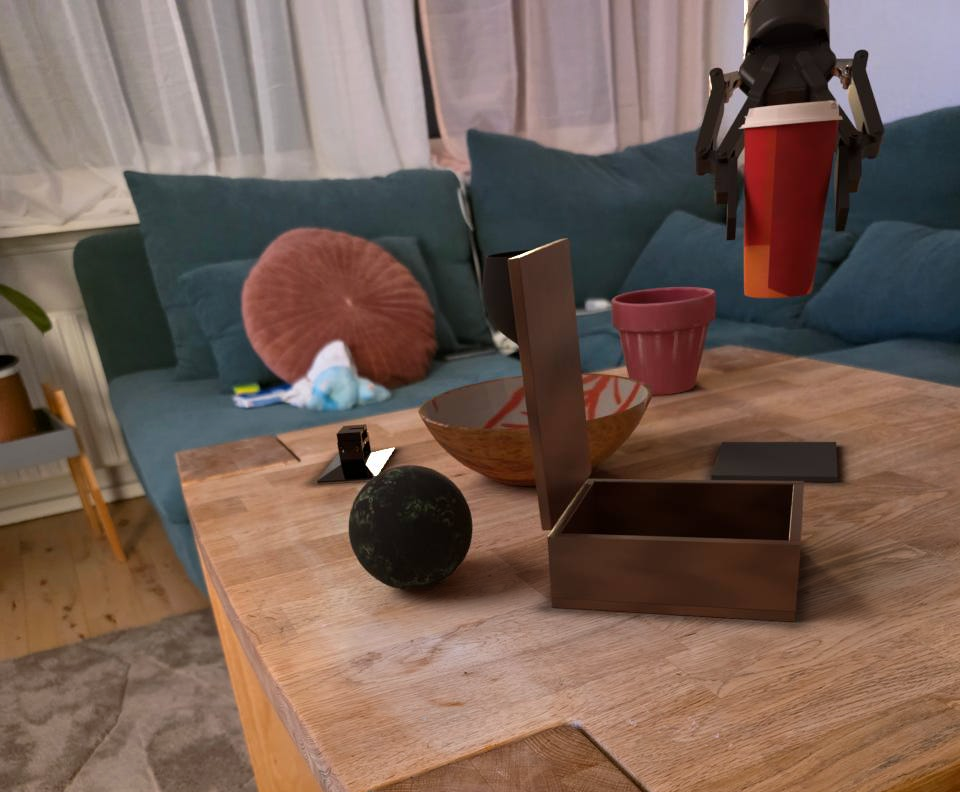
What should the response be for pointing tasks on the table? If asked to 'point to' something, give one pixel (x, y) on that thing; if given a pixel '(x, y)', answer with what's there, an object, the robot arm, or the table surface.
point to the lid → (551, 375)
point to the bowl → (504, 423)
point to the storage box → (680, 548)
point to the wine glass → (500, 293)
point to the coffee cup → (786, 194)
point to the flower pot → (664, 334)
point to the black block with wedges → (355, 457)
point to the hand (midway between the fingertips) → (786, 224)
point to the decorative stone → (410, 527)
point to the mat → (777, 461)
